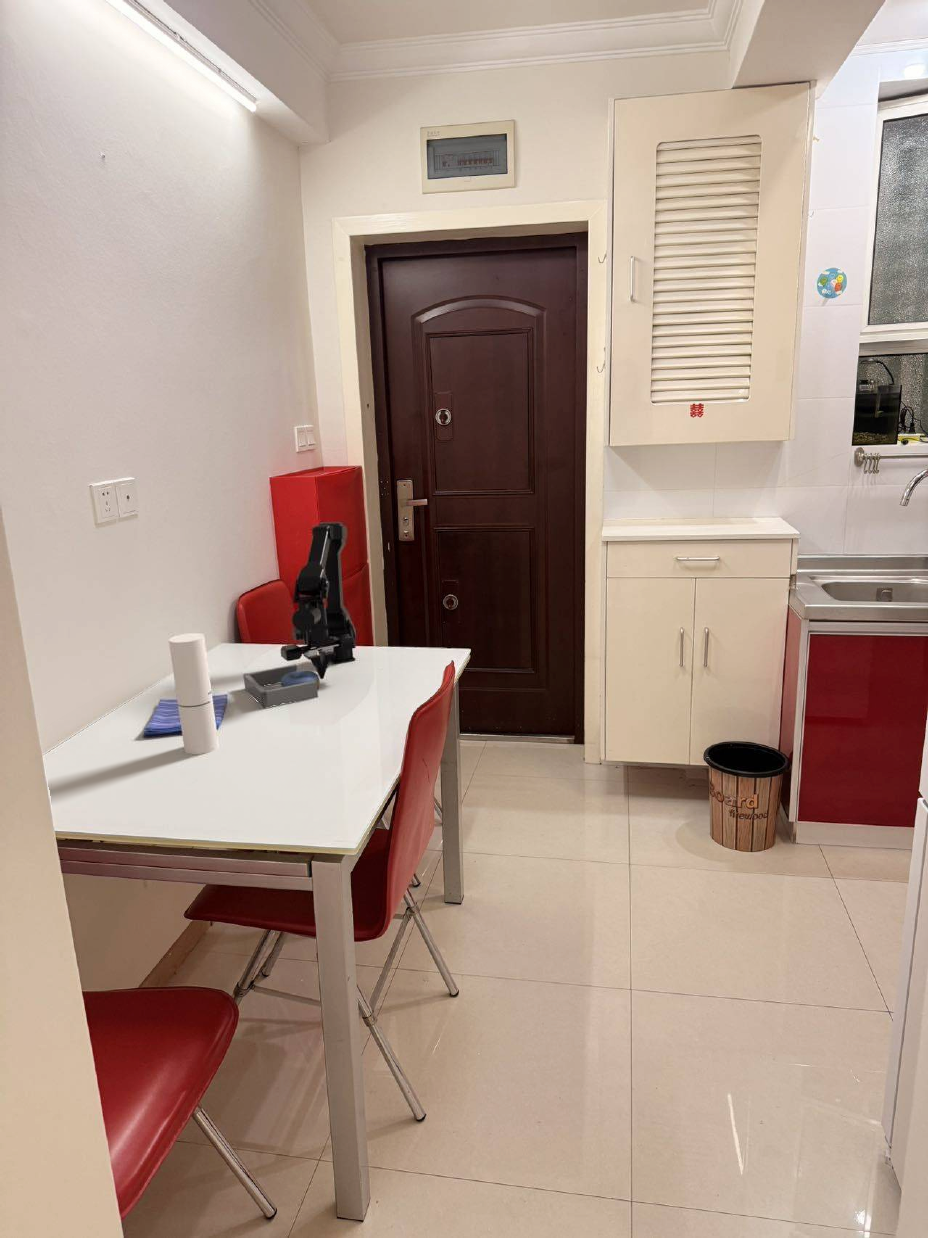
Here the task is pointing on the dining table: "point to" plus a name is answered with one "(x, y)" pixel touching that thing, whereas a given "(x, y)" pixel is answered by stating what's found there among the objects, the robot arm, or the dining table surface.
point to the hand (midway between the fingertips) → (321, 678)
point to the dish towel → (178, 717)
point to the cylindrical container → (194, 693)
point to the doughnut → (299, 678)
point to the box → (280, 694)
